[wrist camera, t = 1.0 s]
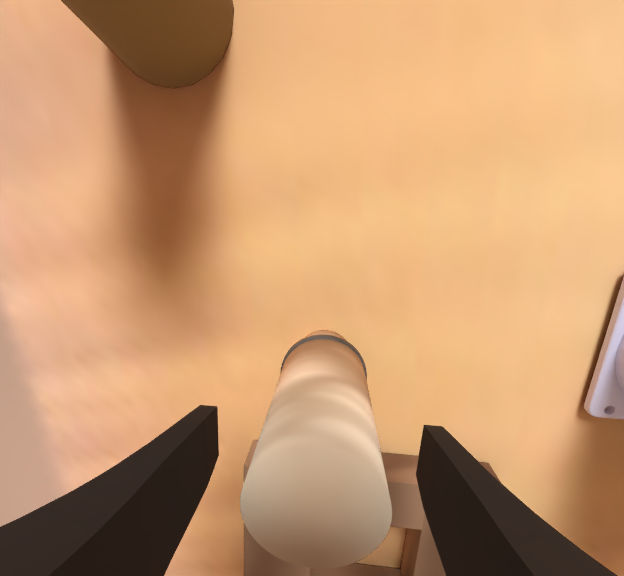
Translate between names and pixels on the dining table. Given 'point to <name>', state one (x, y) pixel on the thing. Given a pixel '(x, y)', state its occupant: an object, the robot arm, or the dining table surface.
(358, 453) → the ash peg
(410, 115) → the dining table surface
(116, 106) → the dining table surface
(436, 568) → the walnut board
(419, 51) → the dining table surface
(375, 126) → the dining table surface
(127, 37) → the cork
